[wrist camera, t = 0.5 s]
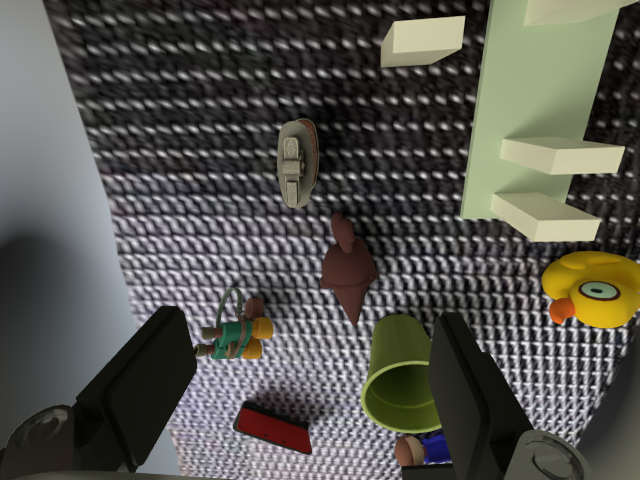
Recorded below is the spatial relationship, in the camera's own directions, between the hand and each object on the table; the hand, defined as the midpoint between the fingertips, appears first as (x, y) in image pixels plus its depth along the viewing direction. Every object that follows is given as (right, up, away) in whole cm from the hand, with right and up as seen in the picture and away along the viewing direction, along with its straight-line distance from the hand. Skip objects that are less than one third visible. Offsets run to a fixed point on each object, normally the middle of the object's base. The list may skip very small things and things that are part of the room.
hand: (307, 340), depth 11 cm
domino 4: (+23, +8, +24) cm, 34 cm away
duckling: (+31, 0, +27) cm, 42 cm away
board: (+22, +19, +20) cm, 35 cm away
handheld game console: (-8, -28, +44) cm, 53 cm away
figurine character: (+21, -31, +42) cm, 56 cm away
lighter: (-1, +14, +24) cm, 28 cm away
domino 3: (+23, +14, +21) cm, 34 cm away
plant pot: (+12, -10, +34) cm, 37 cm away
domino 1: (+9, +23, +19) cm, 31 cm away
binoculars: (-10, -7, +34) cm, 36 cm away
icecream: (+4, +1, +29) cm, 30 cm away
